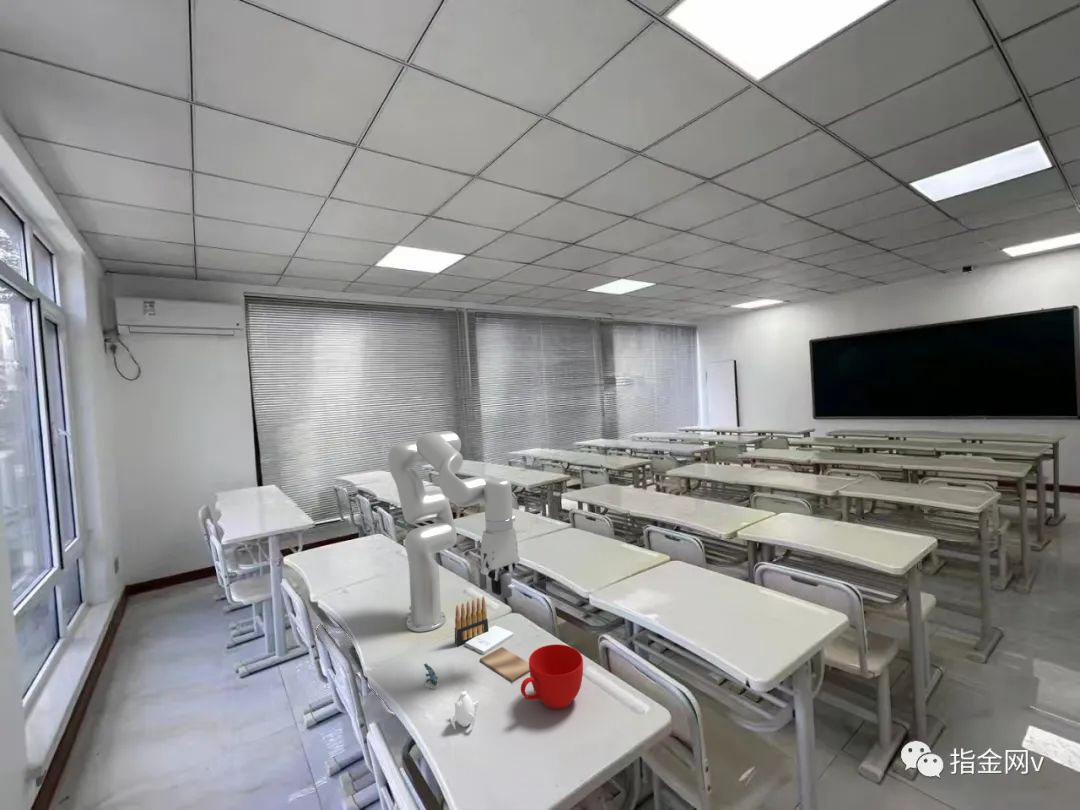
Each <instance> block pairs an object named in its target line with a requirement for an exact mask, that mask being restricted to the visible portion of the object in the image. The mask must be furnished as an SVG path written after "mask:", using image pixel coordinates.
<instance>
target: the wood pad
mask: <svg viewBox="0 0 1080 810" xmlns="http://www.w3.org/2000/svg"><path fill="white" fill-rule="evenodd" d="M479 662H481V663H482V664H484V666H487V667H489V668H490V669H492V670H493V671H494V672H496V673H498V674H499V675H501V676H502V677H503V678H505V679H506V680H508V681H509V682H511V683H514V682H515V681H517V680H519V679H520V678H522V677H524V676H525V675H527V674H530V670H529V661H527V660H525V659H524V658H522V657H520V656H518V655H517V654H515V653H513V652H512V651H510V650H508V649H506V648H504V647H503V646H500V648H497V649H496V650H494V651H492V652H489V653H487V654H485V655H483V656H482V657H481V658H479Z"/></svg>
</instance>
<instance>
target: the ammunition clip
mask: <svg viewBox="0 0 1080 810" xmlns="http://www.w3.org/2000/svg"><path fill="white" fill-rule="evenodd" d="M476 600H477V601H476V602H475V599H472V601H471V604H470V601H468V600H467V603H466V607H465V604H464V602H462V603H461V606H459V604H457V605H456V607H455V618H454V623H455V624H454V625H455V627H454V645H455V646H456V647H457V648H459V647H461V646H465V642H467V641H469V640H471V639H472V638H474V637H476V636H478V635H481V634H483V632H484V633H486V632H488V631H489V630H488V629H489V621H488V616H487V615H488V614H487V608H486V607H487V605H486V599H485V595H484V596H482V599H481V600H480V598H479V597H477V599H476ZM460 608H461V609H460Z"/></svg>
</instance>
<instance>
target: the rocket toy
mask: <svg viewBox="0 0 1080 810" xmlns="http://www.w3.org/2000/svg"><path fill="white" fill-rule="evenodd" d="M457 699H458V700H456V702H454V708H455V710H454V716H452V717H451V718H450V719H449V720H450V724H452V726H453V727H452V728H453V729H454V730H456V723H458V725H460V726H461V727H463V728H466V727H468V726H469V725H470V724H472V725H471V729H472V730H473V728H474V725H475V721H476V714H477V711H478V707H479V701H478V700H477V701H475V702H473V699H472V698H471V697H470V695H469V694H468V693H467V690H463V691H461V692H460V695H459V696H458V698H457ZM455 721H456V723H455Z"/></svg>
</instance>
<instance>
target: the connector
mask: <svg viewBox="0 0 1080 810" xmlns="http://www.w3.org/2000/svg"><path fill="white" fill-rule="evenodd" d="M499 580H500V585H501V594H500V595H498V594H495V593H493V592H492V591H491V593H492V594H494V595H497V596H498V597H500V598H503V599H508V598H511V597H512V596H513V590H515V589H517V586H516V585H514V584H512V582H513V581H512V575H511V572H509V571H506V570H504V569H503V568H499Z"/></svg>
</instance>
